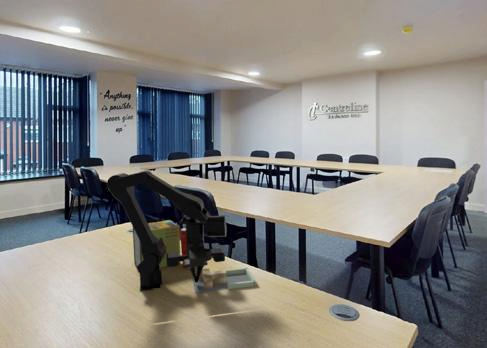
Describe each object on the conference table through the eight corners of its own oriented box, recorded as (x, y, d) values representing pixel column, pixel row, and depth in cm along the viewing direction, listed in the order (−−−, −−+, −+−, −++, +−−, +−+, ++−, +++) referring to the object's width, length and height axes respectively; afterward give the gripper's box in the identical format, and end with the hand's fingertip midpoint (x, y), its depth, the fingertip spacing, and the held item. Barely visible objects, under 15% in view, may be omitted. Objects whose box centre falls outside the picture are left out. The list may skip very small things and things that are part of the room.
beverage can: (195, 270, 123) (194, 231, 122) (178, 269, 125) (177, 230, 123) (200, 264, 129) (199, 226, 128) (184, 263, 131) (183, 226, 129)
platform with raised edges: (195, 294, 105) (195, 288, 105) (192, 278, 116) (192, 273, 116) (256, 287, 110) (256, 281, 109) (247, 272, 121) (247, 267, 121)
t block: (205, 289, 107) (204, 278, 107) (202, 278, 115) (202, 269, 115) (227, 286, 109) (227, 276, 109) (223, 276, 117) (223, 266, 117)
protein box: (181, 263, 130) (180, 225, 129) (142, 273, 122) (140, 231, 120) (171, 255, 139) (169, 219, 137) (133, 264, 130) (131, 225, 129)
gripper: (165, 246, 99) (168, 296, 101) (227, 241, 103) (228, 289, 105) (165, 236, 110) (167, 281, 111) (221, 231, 114) (222, 275, 116)
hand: (196, 282), depth 111 cm, fingers closed
